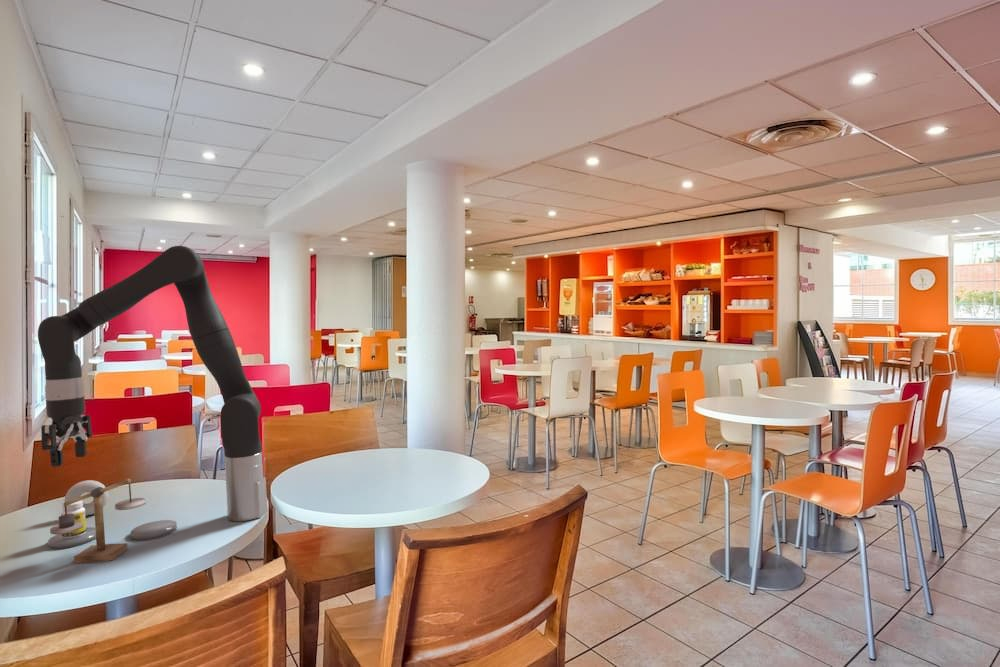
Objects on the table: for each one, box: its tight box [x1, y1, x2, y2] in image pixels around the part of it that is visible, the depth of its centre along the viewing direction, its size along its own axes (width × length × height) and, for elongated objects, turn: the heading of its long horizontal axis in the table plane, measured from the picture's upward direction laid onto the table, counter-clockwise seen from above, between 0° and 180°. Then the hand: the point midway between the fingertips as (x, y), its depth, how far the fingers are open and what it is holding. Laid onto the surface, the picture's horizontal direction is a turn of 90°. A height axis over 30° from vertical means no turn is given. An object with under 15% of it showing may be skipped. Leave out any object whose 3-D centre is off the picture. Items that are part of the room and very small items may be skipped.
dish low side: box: [47, 527, 96, 550], centre depth 136 cm, size 10×10×1 cm
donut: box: [63, 479, 109, 517], centre depth 153 cm, size 10×4×10 cm, turn 120°
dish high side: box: [130, 519, 178, 541], centre depth 140 cm, size 10×10×1 cm
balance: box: [49, 478, 147, 564], centre depth 126 cm, size 20×6×18 cm, turn 95°
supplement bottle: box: [60, 500, 87, 539], centre depth 136 cm, size 5×5×8 cm
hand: (69, 461), depth 136 cm, fingers open, 8 cm apart
